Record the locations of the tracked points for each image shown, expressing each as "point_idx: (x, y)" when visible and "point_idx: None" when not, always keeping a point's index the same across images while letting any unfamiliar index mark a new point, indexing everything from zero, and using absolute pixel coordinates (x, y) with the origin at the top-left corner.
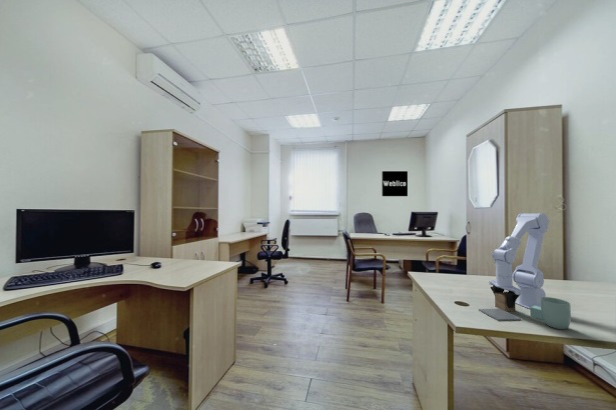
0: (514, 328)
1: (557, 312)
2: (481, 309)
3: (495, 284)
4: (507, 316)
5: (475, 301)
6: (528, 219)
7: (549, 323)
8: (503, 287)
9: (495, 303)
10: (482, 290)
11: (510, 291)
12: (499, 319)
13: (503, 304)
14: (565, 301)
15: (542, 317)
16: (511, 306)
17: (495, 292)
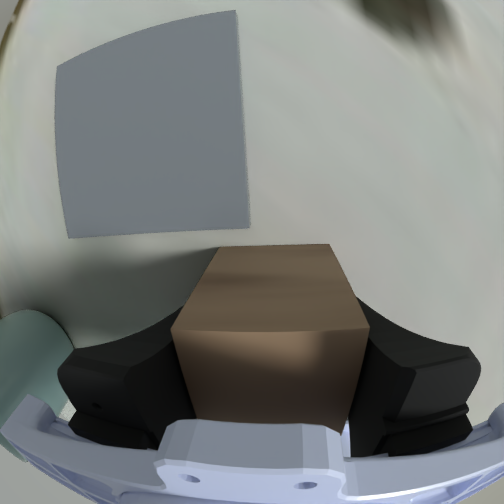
0: (6, 114)
1: None
2: (224, 27)
3: (339, 487)
4: (84, 162)
5: (456, 160)
6: None
7: (20, 310)
8: (120, 462)
9: (330, 256)
10: None
11: (103, 434)
12: (57, 77)
13: (221, 272)
14: (6, 446)
15: (32, 325)
16: None
17: (373, 344)
